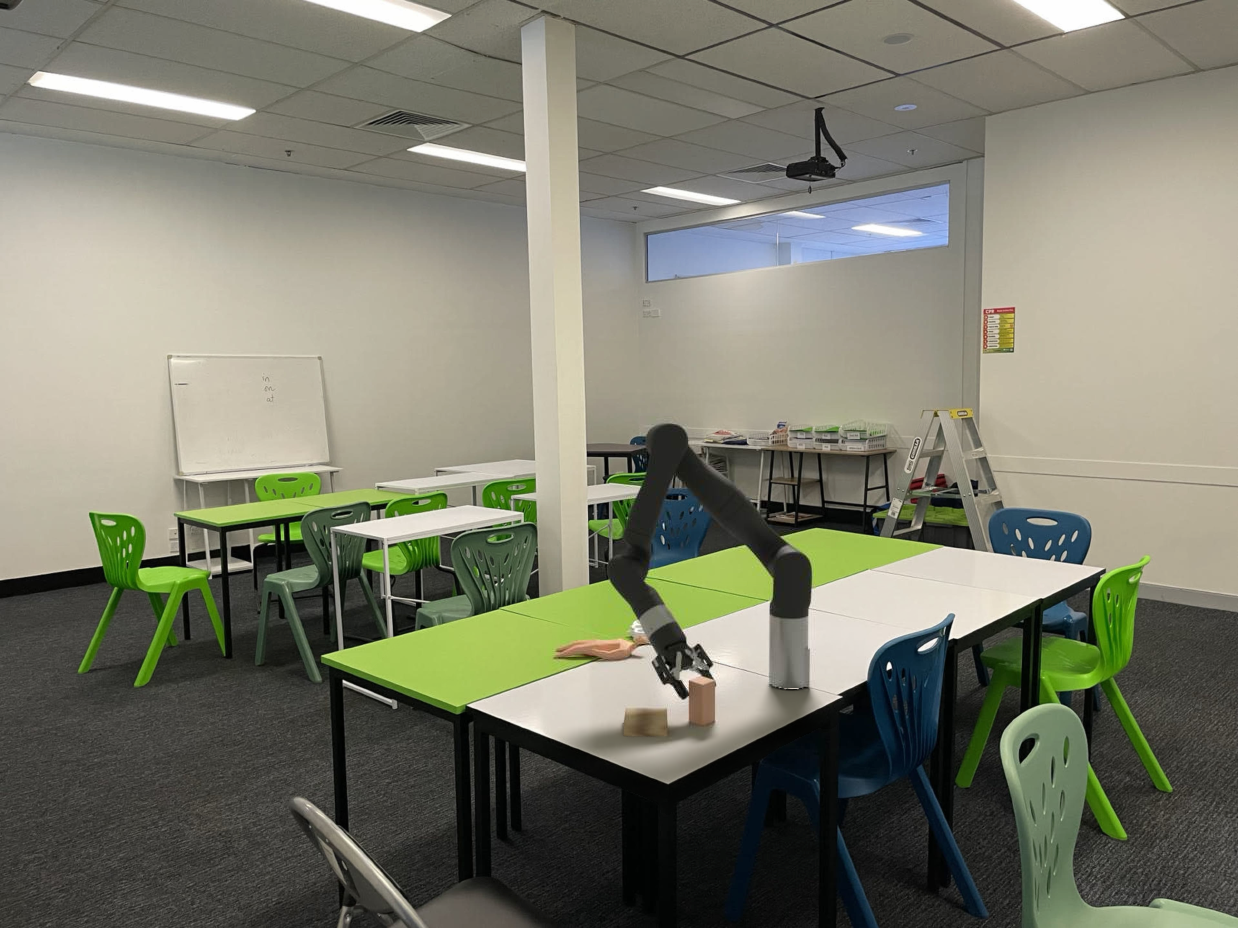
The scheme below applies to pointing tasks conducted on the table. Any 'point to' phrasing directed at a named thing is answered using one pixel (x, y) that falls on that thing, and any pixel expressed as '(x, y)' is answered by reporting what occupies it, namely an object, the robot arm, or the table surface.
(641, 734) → the base slab
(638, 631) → the white dimpled tray
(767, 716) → the table surface
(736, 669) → the table surface
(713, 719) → the block
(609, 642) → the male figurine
